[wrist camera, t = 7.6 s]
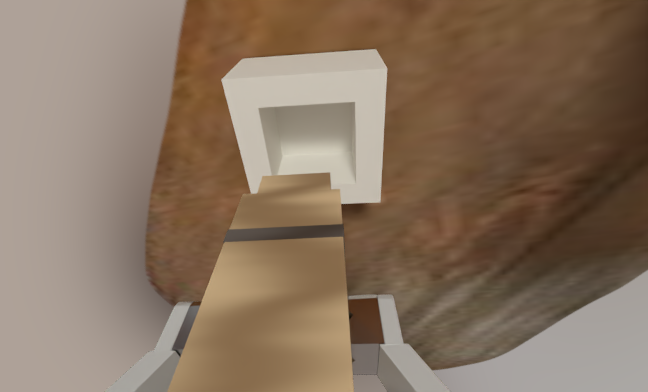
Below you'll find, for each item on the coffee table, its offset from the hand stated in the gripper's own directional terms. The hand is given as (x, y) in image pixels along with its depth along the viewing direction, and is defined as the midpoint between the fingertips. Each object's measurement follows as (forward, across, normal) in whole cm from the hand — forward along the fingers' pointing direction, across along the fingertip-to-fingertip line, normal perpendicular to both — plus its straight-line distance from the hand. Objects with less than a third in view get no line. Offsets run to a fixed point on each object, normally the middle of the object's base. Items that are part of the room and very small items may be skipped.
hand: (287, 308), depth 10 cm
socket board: (+16, 0, 0) cm, 16 cm away
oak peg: (+6, 0, 0) cm, 6 cm away
